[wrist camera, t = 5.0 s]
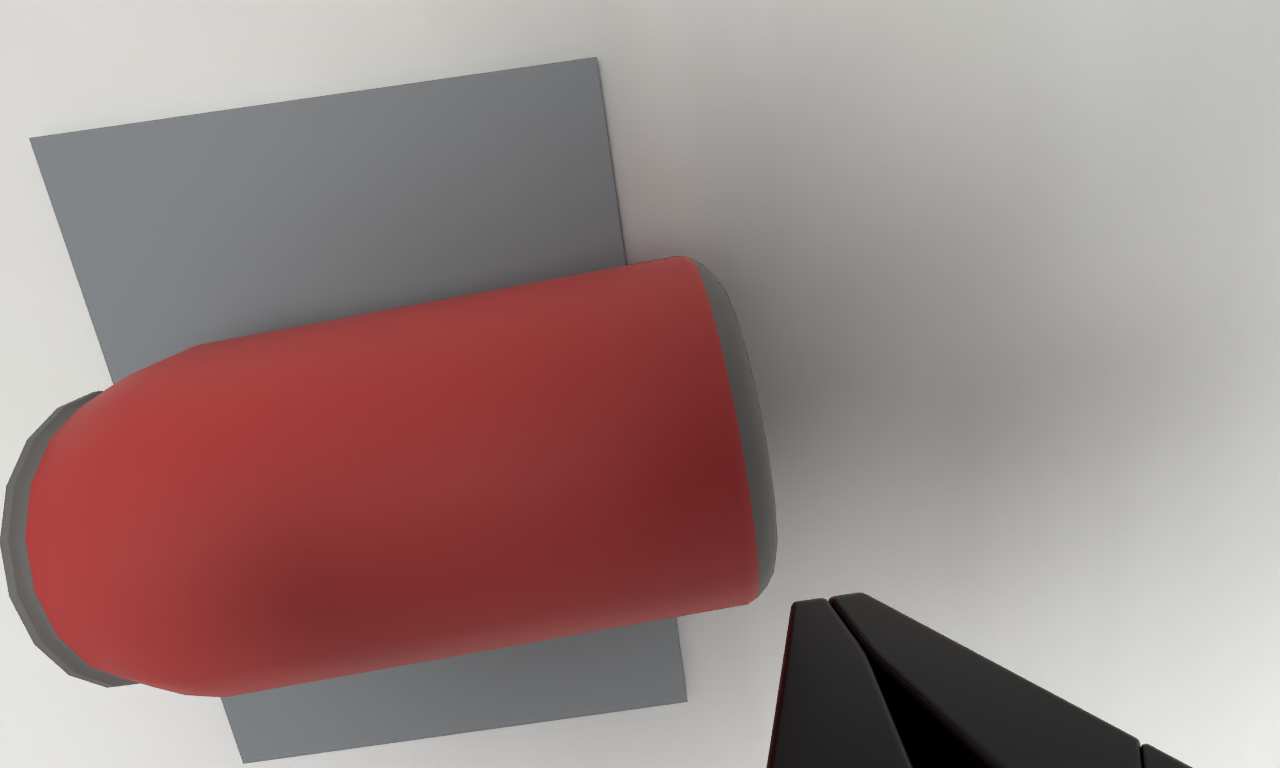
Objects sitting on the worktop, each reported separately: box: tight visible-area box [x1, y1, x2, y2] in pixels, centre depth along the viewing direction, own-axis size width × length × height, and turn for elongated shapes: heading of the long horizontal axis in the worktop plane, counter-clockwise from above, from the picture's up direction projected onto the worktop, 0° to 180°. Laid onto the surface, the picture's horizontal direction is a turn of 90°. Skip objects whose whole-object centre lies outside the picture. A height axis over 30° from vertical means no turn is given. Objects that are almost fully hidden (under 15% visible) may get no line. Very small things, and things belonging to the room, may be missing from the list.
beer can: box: [0, 256, 777, 697], centre depth 14 cm, size 7×7×12 cm
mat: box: [29, 57, 688, 764], centre depth 17 cm, size 12×16×1 cm
